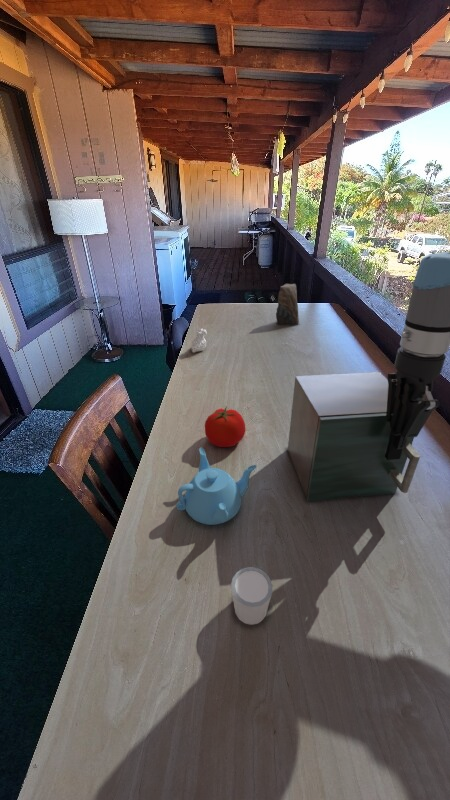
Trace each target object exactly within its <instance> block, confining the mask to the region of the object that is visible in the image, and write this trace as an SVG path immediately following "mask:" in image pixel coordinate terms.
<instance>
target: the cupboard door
mask: <svg viewBox="0 0 450 800" xmlns="http://www.w3.org/2000/svg"><path fill="white" fill-rule="evenodd" d="M392 415H393V414H392ZM390 431H391V428H390V422H387V421H386V413H378V414H363V415H349V416H334V417H320V418H319V423H318V429H317V436H316V442H315V449H314V455H313V461H312V468H311V474H310V481H309V487H308V493H307V497H306V500H307V502H317V501H325V500H336V499H348V498H360V497H371V496H379V495H380V496H383V495H394V494H396V492H397V490H399V491H400V492H401V493H403V494H407V493H408V492H409V489H410V486H411V483H412V481H413V478H414V476H415V472H416V470H417V468H418V464H419V461H420V458H421V453H419V452H418V451H417V449H415V447H414V446H413V442H414V439H415V437H410V438H407V441H406V444H405V447H404V449H403V450H402V453H401V457H400V459H394V460H387V459H386V458H385V454H386V450H387V446H388V443H389V435H390ZM407 460H408V464H407ZM406 464H407V465H406ZM405 467H406V470H405V472H404V468H405ZM403 472H404V474H403Z"/></svg>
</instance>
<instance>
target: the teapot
mask: <svg viewBox="0 0 450 800" xmlns="http://www.w3.org/2000/svg"><path fill="white" fill-rule="evenodd" d="M198 453H199V459H200V460H199V466H198V472H197V473H196V475H194V476H193V478H192V479H191V480H190V482H189V483H185V484H182V485H181V486H180V487H179V488H178V491H177V496H178V498H179V501H177V502H176V505H175V506H176V509H177V510H178V511H186V513H187V514H188V516H189V517H190V518H191V519H193V520H194V521H195V522H198V523H200V524H203V525H208V526H215V525H221V524H224V523H226V522H228V521H230V520H231V519H233V518H234V517H235V516H236V515H237V514H238V512H239V511H240V510H241V505H242V497H243V496H244V495H245V494H246V492H247V491H248V490H249V489H248V488H249V483H250V477H251V474H252V473H253V471H255V469H256V468H257V465H256V464H252V465H250V466H248V467H247V468H245V470H244V471H243V473H242V476H241V477H240V479H239V480H238V481H235V480H234V478H233V477H232V476H231V475H230V474H229V473H228V472H226V471H225V470H224V469H222V468H218V467H211V466H210V464H209V461H208V458H207V453H206V451H205V449H204V447H199V449H198ZM183 492H184V496H183Z"/></svg>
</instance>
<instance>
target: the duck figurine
mask: <svg viewBox="0 0 450 800" xmlns="http://www.w3.org/2000/svg"><path fill="white" fill-rule="evenodd" d="M194 334H195V336H196V337H194V338H193V340H192V343H191V352H192V353H197V352H203V351H204V350H205V349H206V347H207V340H206V339H205V337H206V336H208V332H207V330H206V329H205V328H199V329H197V331H196V332H195V333H194Z"/></svg>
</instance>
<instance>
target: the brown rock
mask: <svg viewBox="0 0 450 800" xmlns="http://www.w3.org/2000/svg"><path fill="white" fill-rule="evenodd" d="M297 289H298V287H297V284H296V283H284V284H283V285H280V287H279V291H278V295H277V308H276V313H275V318H276V322H277V325H278V326H288V325H290V326H291V325H293V326H294V325H299V323H300V317H299V305H298V304H299V303H298V290H297Z"/></svg>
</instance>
